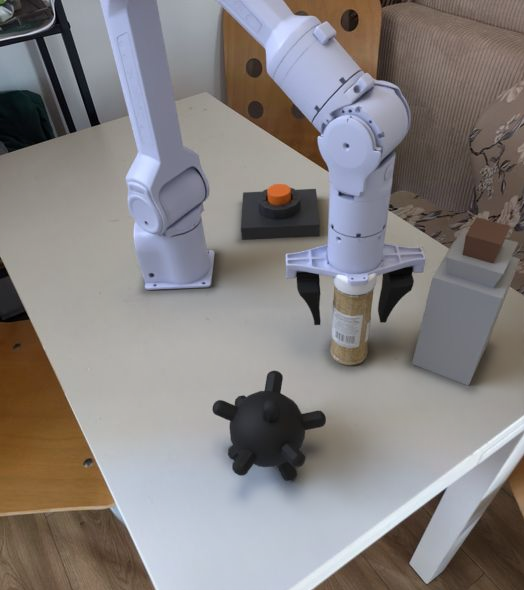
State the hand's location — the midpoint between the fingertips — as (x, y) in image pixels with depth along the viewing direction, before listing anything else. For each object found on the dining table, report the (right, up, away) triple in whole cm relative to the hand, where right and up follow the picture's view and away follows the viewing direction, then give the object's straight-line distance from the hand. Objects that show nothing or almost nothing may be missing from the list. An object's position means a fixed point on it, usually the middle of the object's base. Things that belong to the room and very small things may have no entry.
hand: (349, 317), depth 61 cm
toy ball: (-10, -15, -6) cm, 19 cm away
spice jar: (0, -4, +2) cm, 5 cm away
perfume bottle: (+12, -5, +1) cm, 13 cm away
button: (-8, +20, +19) cm, 29 cm away
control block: (-7, +17, +22) cm, 29 cm away
